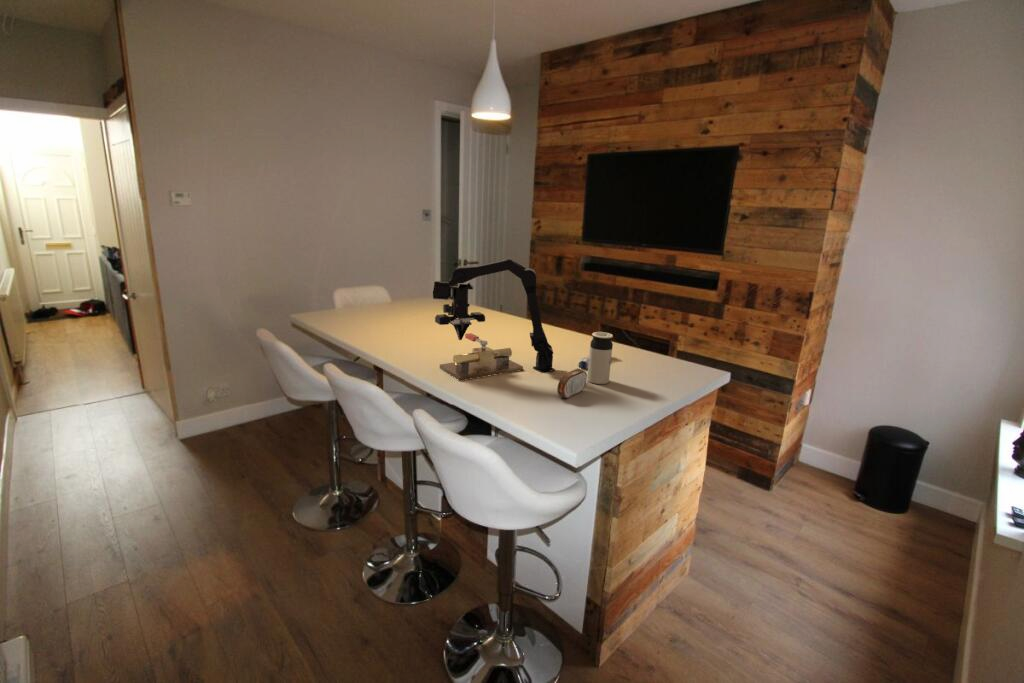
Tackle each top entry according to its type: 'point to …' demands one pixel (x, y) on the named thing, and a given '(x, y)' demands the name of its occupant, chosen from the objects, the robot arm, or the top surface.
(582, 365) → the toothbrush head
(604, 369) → the travel mug
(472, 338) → the lever
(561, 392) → the tin
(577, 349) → the top surface
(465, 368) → the valve
